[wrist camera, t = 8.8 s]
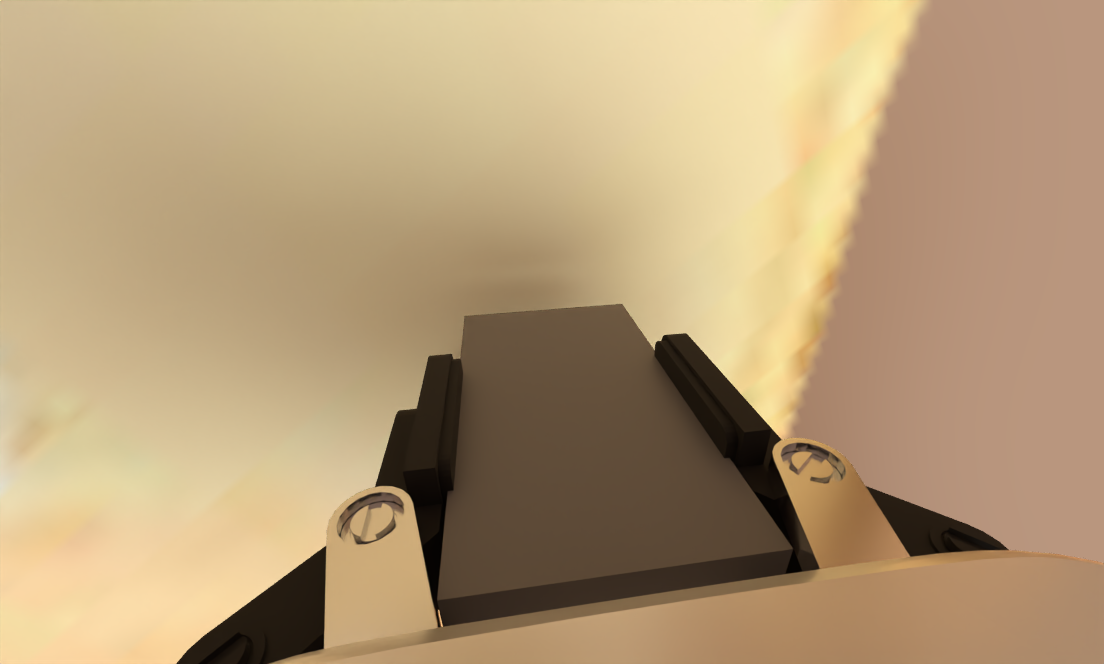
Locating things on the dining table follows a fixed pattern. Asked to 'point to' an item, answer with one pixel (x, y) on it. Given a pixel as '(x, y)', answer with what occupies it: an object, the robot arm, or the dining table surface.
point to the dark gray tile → (586, 475)
